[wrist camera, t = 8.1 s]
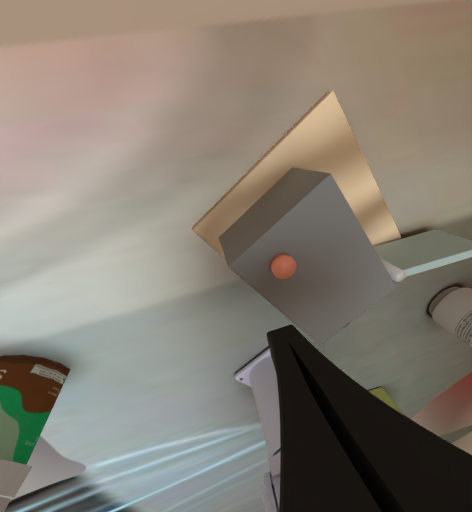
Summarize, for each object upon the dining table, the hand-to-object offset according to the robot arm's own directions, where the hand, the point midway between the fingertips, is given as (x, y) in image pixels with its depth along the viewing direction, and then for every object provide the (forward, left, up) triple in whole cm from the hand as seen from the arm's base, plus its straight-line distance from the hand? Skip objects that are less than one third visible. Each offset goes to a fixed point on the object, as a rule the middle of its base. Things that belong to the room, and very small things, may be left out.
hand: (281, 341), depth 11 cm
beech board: (-5, -6, -10) cm, 12 cm away
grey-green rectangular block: (-11, -12, -9) cm, 19 cm away
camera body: (-3, -4, -9) cm, 11 cm away
